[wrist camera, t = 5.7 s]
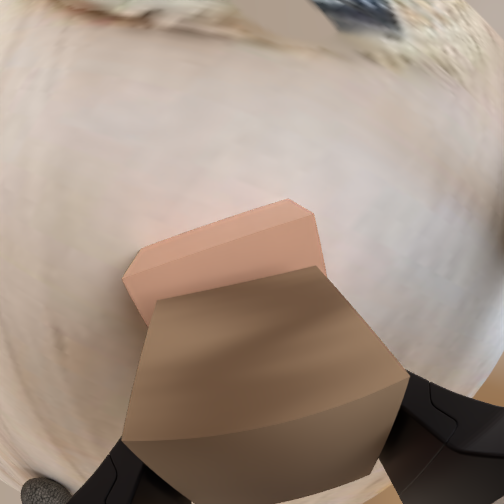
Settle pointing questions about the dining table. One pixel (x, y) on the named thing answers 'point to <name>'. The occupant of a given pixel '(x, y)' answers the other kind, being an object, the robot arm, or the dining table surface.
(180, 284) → the terracotta block
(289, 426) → the walnut cube
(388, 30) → the dining table surface
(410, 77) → the dining table surface
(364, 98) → the dining table surface
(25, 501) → the decorative ball
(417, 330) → the dining table surface
